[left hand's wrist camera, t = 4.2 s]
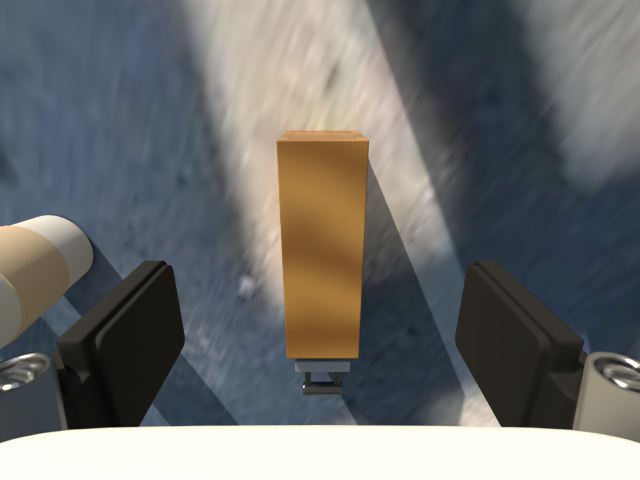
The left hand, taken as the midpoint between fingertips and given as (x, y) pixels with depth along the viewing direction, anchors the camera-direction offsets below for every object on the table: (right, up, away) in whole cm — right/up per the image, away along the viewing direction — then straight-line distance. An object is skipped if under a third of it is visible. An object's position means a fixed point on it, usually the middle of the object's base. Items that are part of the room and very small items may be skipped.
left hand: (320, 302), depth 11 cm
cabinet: (0, +3, +23) cm, 23 cm away
